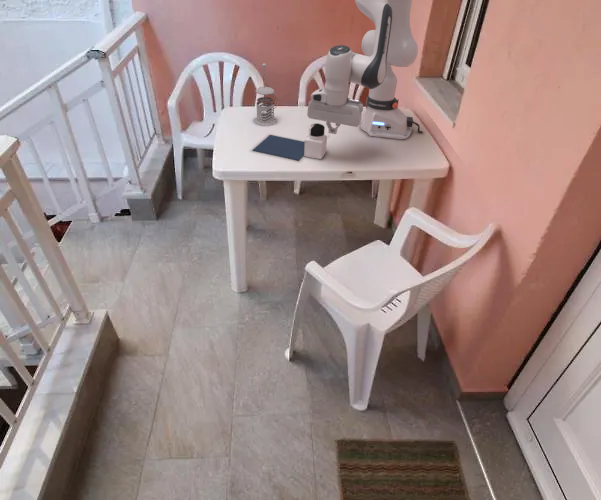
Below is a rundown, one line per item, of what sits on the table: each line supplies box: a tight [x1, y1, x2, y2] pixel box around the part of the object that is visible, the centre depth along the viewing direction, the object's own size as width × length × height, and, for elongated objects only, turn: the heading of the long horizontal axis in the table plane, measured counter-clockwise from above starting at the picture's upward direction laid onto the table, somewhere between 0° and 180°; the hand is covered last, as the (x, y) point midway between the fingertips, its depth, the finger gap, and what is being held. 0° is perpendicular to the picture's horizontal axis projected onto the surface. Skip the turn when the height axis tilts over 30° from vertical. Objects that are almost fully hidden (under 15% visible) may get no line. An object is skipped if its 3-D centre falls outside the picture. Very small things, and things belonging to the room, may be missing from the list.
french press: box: [254, 62, 279, 126], centre depth 182 cm, size 10×12×25 cm
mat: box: [252, 134, 305, 162], centre depth 169 cm, size 20×16×1 cm
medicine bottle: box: [303, 123, 328, 160], centre depth 161 cm, size 7×7×12 cm
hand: (332, 133), depth 157 cm, fingers closed
